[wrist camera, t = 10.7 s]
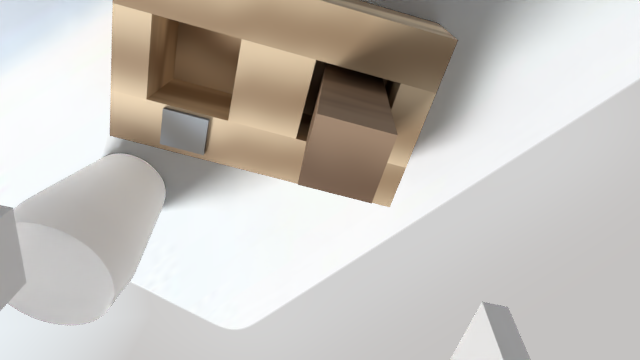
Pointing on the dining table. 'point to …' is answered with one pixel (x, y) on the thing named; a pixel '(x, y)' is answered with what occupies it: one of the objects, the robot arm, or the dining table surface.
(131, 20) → the box
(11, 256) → the robot arm
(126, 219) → the cup
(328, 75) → the plug
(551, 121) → the dining table surface
